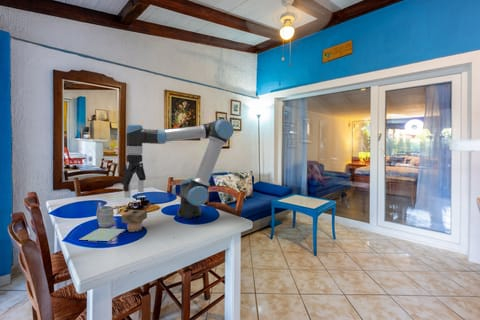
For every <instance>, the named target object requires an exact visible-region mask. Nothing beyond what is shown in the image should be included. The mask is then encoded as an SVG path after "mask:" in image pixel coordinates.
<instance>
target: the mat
mask: <svg viewBox="0 0 480 320" xmlns="http://www.w3.org/2000/svg"><path fill="white" fill-rule="evenodd" d="M125 231H126V228H125V229H124V228H122V229H121V228H106V227H98V229H95V230H93V231H92V232H90V233H88V234H86V235H85V236H83V237H80V238H79V239H78V241H79V240H88V241H87V242H97V241H108V242H107V243H109V242H111V241H113V240H114V239H115V238H116V236H117V237H118V236H119V234H120V233H121V234H122V233H124V232H125ZM121 234H120V235H121ZM113 238H114V239H113ZM110 240H111V241H110Z"/></svg>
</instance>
